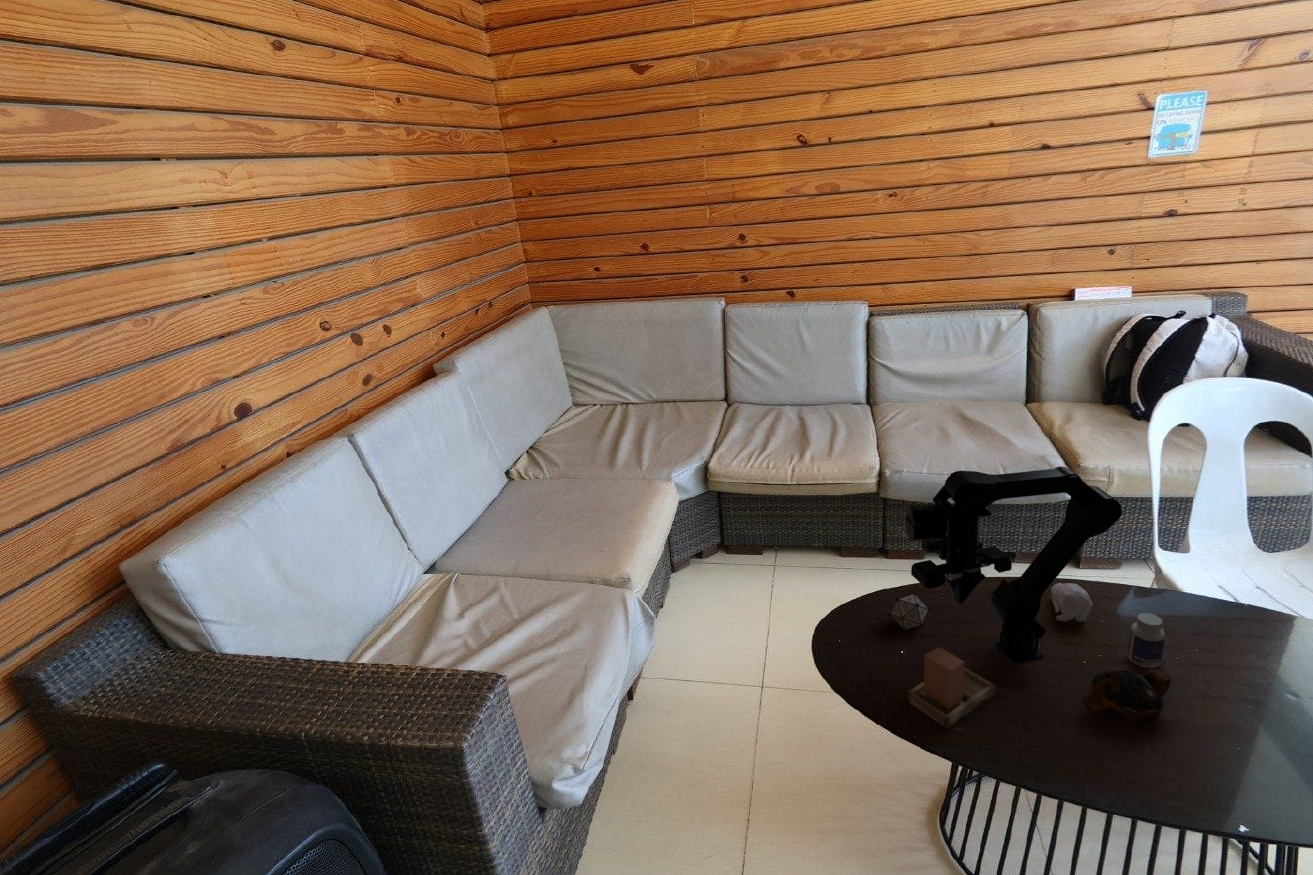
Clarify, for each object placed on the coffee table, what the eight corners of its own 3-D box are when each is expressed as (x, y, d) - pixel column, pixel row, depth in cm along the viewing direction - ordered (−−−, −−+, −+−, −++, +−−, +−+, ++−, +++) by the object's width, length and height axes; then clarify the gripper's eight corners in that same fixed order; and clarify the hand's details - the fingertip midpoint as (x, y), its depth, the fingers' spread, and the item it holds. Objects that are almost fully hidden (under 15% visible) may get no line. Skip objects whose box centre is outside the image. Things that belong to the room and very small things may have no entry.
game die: (917, 643, 152) (936, 629, 143) (880, 631, 152) (897, 616, 144) (920, 607, 157) (939, 591, 148) (884, 596, 157) (901, 579, 149)
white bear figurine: (1062, 592, 143) (1043, 567, 154) (1060, 628, 145) (1041, 600, 156) (1095, 592, 141) (1073, 567, 153) (1093, 628, 143) (1071, 601, 155)
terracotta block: (937, 684, 132) (938, 646, 129) (962, 700, 127) (964, 661, 124) (923, 693, 130) (924, 655, 127) (949, 710, 125) (950, 670, 122)
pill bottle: (1167, 667, 131) (1174, 625, 128) (1138, 670, 131) (1145, 628, 128) (1148, 650, 136) (1154, 609, 133) (1121, 652, 136) (1126, 612, 133)
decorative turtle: (1185, 720, 119) (1192, 686, 116) (1107, 743, 117) (1112, 709, 114) (1140, 681, 128) (1145, 649, 125) (1067, 702, 126) (1070, 670, 123)
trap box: (953, 670, 137) (954, 661, 136) (994, 694, 130) (995, 685, 129) (906, 701, 131) (907, 692, 130) (947, 728, 123) (947, 719, 123)
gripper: (979, 509, 140) (976, 573, 146) (896, 526, 138) (896, 591, 143) (1016, 532, 130) (1011, 601, 135) (927, 551, 127) (926, 621, 132)
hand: (959, 602), depth 137 cm, fingers closed
